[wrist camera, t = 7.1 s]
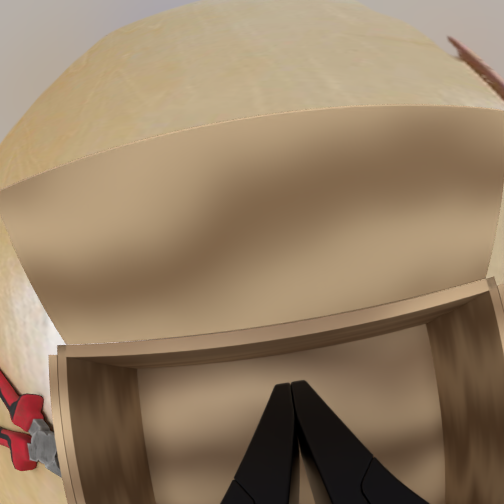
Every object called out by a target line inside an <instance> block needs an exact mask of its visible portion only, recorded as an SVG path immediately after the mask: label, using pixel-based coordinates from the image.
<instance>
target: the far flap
mask: <svg viewBox="0 0 504 504" xmlns="http://www.w3.org/2000/svg"><path fill="white" fill-rule="evenodd" d="M503 184H504V111H503V110H499V109H492V108H482V107H469V106H454V105H430V104H382V105H356V106H340V107H327V108H315V109H305V110H296V111H287V112H279V113H272V114H264V115H258V116H251V117H245V118H239V119H233V120H227V121H222V122H216V123H211V124H206V125H201V126H196V127H192V128H187V129H183V130H178V131H174V132H170V133H165V134H161V135H157V136H153V137H149V138H146V139H142V140H138V141H134V142H131V143H127V144H124V145H120V146H117V147H113V148H110V149H107V150H104V151H100V152H97V153H94V154H91V155H88V156H85V157H82V158H79V159H76V160H73V161H70V162H67V163H65V164H62V165H59V166H56V167H54V168H51V169H48V170H46V171H43V172H40V173H38V174H35V175H33V176H30V177H28V178H25V179H23V180H21V181H18V182H16V183H14V184H11V185H9V186H7V187H4V188H2V189H0V216H1V218H2V221H3V223H4V226H5V228H6V231H7V233H8V235H9V238H10V240H11V243H12V245H13V247H14V249H15V252H16V254H17V256H18V258H19V260H20V262H21V265H22V267H23V269H24V271H25V273H26V275H27V277H28V279H29V281H30V283H31V285H32V287H33V288H34V290H35V292H36V294H37V296H38V298H39V300H40V301H41V303H42V305H43V307H44V309H45V310H46V312H47V314H48V316H49V317H50V319H51V321H52V322H53V324H54V326H55V327H56V329H57V331H58V332H59V334H60V335H61V337H62V339H63V340H64V342H65V343H66V345H68V344H92V343H110V342H125V341H138V340H151V339H162V338H172V337H182V336H192V335H201V334H209V333H217V332H225V331H233V330H240V329H248V328H255V327H262V326H268V325H275V324H281V323H287V322H293V321H299V320H305V319H311V318H317V317H322V316H328V315H333V314H338V313H343V312H349V311H354V310H359V309H363V308H368V307H373V306H378V305H382V304H387V303H391V302H396V301H400V300H404V299H409V298H413V297H417V296H421V295H425V294H429V293H433V292H437V291H441V290H445V289H449V288H453V287H456V286H460V285H464V284H467V283H471V282H475V281H478V280H482V279H485V278H486V275H487V271H488V267H489V263H490V259H491V254H492V250H493V245H494V241H495V236H496V230H497V225H498V219H499V213H500V207H501V200H502V192H503Z"/></svg>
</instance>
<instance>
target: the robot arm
mask: <svg viewBox="0 0 504 504" xmlns="http://www.w3.org/2000/svg"><path fill="white" fill-rule="evenodd" d="M298 441H299V442H298ZM299 447H300V451H299ZM300 453H301V457H302V460H303V464H304V467H305V471H306V474H307V477H308V481H309V484H310V487H311V491H312V494H313V497H314V501H315V504H430V503H429V502H427V501H426V500H425V499H423V498H422V497H420V496H419V495H418V494H416V493H415V492H414V491H412V490H411V489H410V488H408V487H407V486H406V485H405V484H403V483H402V482H401V481H400V480H398V479H397V478H396V477H395V476H394V475H393V474H392V473H391V472H390V471H389V470H388V469H387V468H386V467H385V466H384V465H383V464H382V463H381V462H380V461H379V460H378V459H377V458H376V457H373V456H374V455H373V454H372V453H371V452H370V451H369V450H368V449H367V448H366V446H365V445H364V444H363V443H362V442H361V441H360V440H359V439H358V438H357V437H356V436H355V435H354V434H353V432H352V431H351V430H350V429H349V428H348V427H347V426H346V425H345V424H344V423H343V421H342V420H341V419H340V418H339V417H338V416H337V415H336V414H335V413H334V412H333V410H332V409H331V408H330V407H329V406H328V405H327V404H326V403H325V401H324V400H323V399H322V398H321V397H320V396H319V395H318V394H317V392H316V391H315V390H314V389H313V388H312V387H311V386H310V384H309V383H308V382H307V381H306V380H299V381H293V382H291V385H290V383H288V382H287V383H280V384H276V385H275V386H274V388H273V390H272V393H271V395H270V398H269V400H268V402H267V405H266V407H265V409H264V412H263V414H262V416H261V419H260V421H259V423H258V425H257V428H256V430H255V432H254V435H253V437H252V439H251V441H250V443H249V446H248V448H247V450H246V452H245V454H244V456H243V459H242V461H241V463H240V465H239V467H238V469H237V471H236V473H235V476H234V480H232V481H231V483H230V486H229V488H228V490H227V492H226V493H225V495H224V497H223V499H222V501H221V502H220V504H299V493H300Z"/></svg>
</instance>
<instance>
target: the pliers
mask: <svg viewBox="0 0 504 504" xmlns="http://www.w3.org/2000/svg"><path fill="white" fill-rule="evenodd" d="M0 398H1V399H2V401H3V402H4V404H5V405H6V407H7V409H8V410H9V412H10V416H11V420H12V422H13V423H14V424H15V425H17V426H19V427H21V428H22V429H23V430H24V431H26V432H29V433H30V434H31V435H32V437H31V436H29V435H27V434H25V433H20V432H14V431H10V430H6V429H3V428H0V445H3V446H6V447H8V448H10V450H11V458H12V462H13V465H14V467H15V469H17V470H20V471H26V470H33V469H34V468H35V467H36V466H37V462H38V461H40V462H41V463H43V464H45V468H47V469H48V470H50V471H52V472H53V473H55V474H56V475H58V476H60V477H61V478H62V475H61V470H60V465H59V460H58V454H57V448H56V441H55V434H54V432H52V431H50V429H49V426H48V425H47V424H46V423H45V421H44V417H43V415H42V414H41V410H42V406H43V398H42V397H41V396H40V395H36V394H23V395H20V397H19V396H18V395H17V393H16V392H15V391H14V389H13V388H12V386H11V385H10V383H9V382H8V381H7V379H6V378H5V377H4V375H3V374H2V373H1V371H0Z"/></svg>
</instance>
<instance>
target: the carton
mask: <svg viewBox="0 0 504 504" xmlns="http://www.w3.org/2000/svg"><path fill="white" fill-rule="evenodd" d="M57 353H58V355H49V380H50V396H51V408H52V418H53V426H54V434H55V441H56V448H57V454H58V460H59V465H60V470H61V475H62V480H63V485H64V489H65V493H66V498H67V502H68V504H220V502H221V501H222V499H223V497H224V495H225V493H226V492H227V490H228V488H229V486H230V483H231V481H232V480H234V476H235V473H236V471H237V469H238V467H239V465H240V463H241V461H242V459H243V456H244V454H245V452H246V450H247V448H248V446H249V443H250V441H251V439H252V437H253V435H254V432H255V430H256V428H257V425H258V423H259V421H260V419H261V416H262V414H263V412H264V409H265V407H266V405H267V402H268V400H269V398H270V395H271V393H272V390H273V388H274V386H275V385H276V384H280V383H287V382H288V383H290V385H291V382H293V381H299V380H306V381H307V382H308V383H309V384H310V386H311V387H312V388H313V389H314V390H315V391H316V392H317V394H318V395H319V396H320V397H321V398H322V399H323V400H324V401H325V403H326V404H327V405H328V406H329V407H330V408H331V409H332V410H333V412H334V413H335V414H336V415H337V416H338V417H339V418H340V419H341V420H342V421H343V423H344V424H345V425H346V426H347V427H348V428H349V429H350V430H351V431H352V432H353V434H354V435H355V436H356V437H357V438H358V439H359V440H360V441H361V442H362V443H363V444H364V445H365V446H366V448H367V449H368V450H369V451H370V452H371V453H372V454H373V455H374V456H373V457H376V458H377V459H378V460H379V461H380V462H381V463H382V464H383V465H384V466H385V467H386V468H387V469H388V470H389V471H390V472H391V473H392V474H393V475H394V476H395V477H396V478H397V479H398V480H400V481H401V482H402V483H403V484H405V485H406V486H407V487H408V488H410V489H411V490H412V491H414V492H415V493H416V494H418V495H419V496H420V497H422V498H423V499H425V500H426V501H427V502H429V503H430V504H504V284H501V285H498V286H497V285H496V282H495V278H494V277H490V278H487V279H484V280H480V281H477V282H473V283H470V284H466V285H462V286H459V287H455V288H451V289H447V290H444V291H440V292H436V293H432V294H428V295H424V296H420V297H416V298H411V299H407V300H403V301H399V302H394V303H390V304H385V305H381V306H376V307H371V308H367V309H362V310H357V311H352V312H347V313H342V314H337V315H331V316H326V317H320V318H315V319H309V320H303V321H298V322H291V323H285V324H279V325H273V326H266V327H259V328H252V329H245V330H238V331H230V332H223V333H215V334H206V335H198V336H188V337H179V338H169V339H158V340H146V341H133V342H119V343H103V344H82V345H57ZM298 442H299V441H298ZM299 451H300V447H299ZM299 504H315V501H314V497H313V494H312V491H311V487H310V484H309V481H308V477H307V474H306V471H305V467H304V464H303V460H302V457H301V453H300V493H299Z"/></svg>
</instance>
